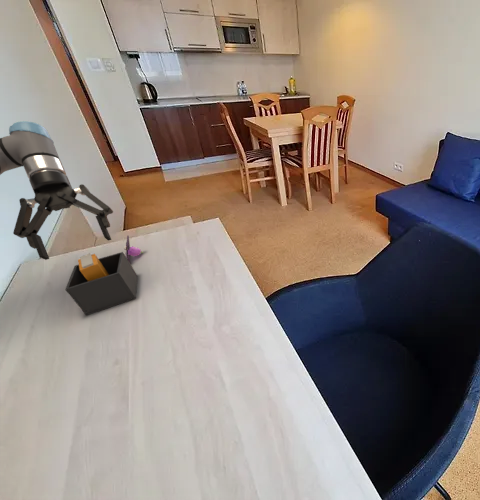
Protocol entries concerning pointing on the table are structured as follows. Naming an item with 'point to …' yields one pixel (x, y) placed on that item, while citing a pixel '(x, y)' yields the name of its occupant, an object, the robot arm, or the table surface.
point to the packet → (91, 267)
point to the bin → (104, 285)
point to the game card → (131, 250)
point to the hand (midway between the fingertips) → (77, 248)
